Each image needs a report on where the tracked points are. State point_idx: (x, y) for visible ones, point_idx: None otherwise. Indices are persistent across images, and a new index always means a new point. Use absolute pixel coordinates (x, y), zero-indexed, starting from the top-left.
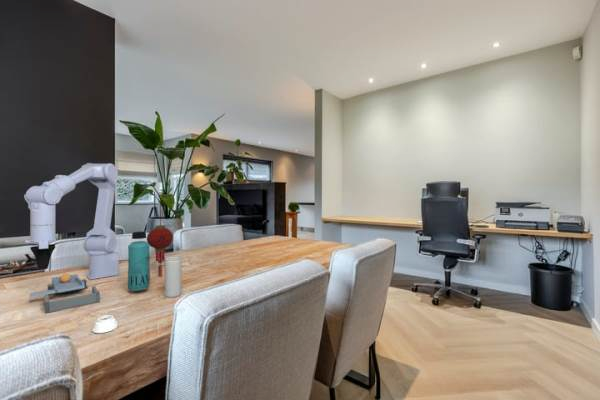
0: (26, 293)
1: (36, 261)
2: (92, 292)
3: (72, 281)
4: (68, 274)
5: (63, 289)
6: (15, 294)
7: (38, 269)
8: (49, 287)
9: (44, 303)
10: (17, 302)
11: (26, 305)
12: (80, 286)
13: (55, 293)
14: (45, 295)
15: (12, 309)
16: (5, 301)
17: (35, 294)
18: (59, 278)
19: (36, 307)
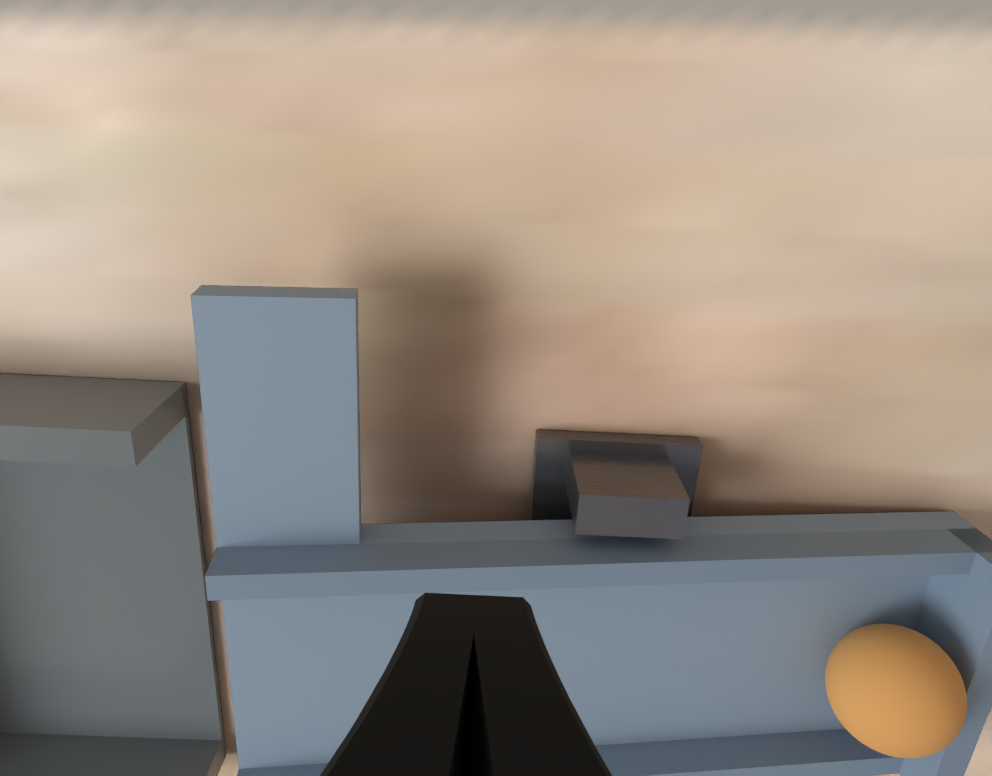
0: (871, 259)
1: (338, 749)
2: (163, 767)
3: (819, 700)
4: (888, 753)
5: (224, 615)
6: (948, 145)
7: (423, 596)
8: (573, 503)
9: (109, 389)
10: (500, 151)
11: (279, 230)
12: (240, 753)
13: (532, 508)
14: (85, 439)
15: (210, 92)
16: (675, 27)
17: (200, 351)
18: (967, 634)
19: (119, 311)
